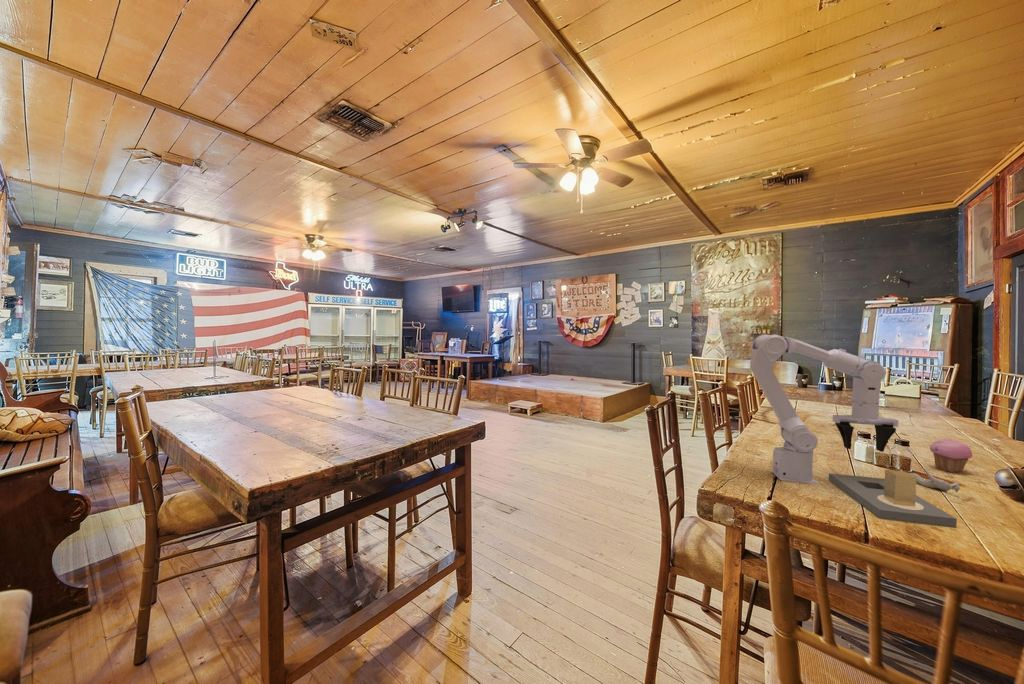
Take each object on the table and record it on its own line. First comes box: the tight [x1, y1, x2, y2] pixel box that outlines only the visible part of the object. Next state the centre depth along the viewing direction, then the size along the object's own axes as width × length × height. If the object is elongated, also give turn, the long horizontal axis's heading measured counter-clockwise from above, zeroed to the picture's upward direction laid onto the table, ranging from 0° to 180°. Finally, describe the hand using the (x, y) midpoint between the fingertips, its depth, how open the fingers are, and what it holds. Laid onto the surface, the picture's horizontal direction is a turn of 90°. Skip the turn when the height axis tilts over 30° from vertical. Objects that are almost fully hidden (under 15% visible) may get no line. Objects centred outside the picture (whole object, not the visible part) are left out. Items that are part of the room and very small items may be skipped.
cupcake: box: [929, 438, 973, 473], centre depth 124 cm, size 9×9×10 cm
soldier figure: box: [899, 467, 961, 493], centre depth 110 cm, size 8×5×12 cm
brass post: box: [884, 469, 917, 506], centre depth 95 cm, size 4×4×7 cm
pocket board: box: [828, 473, 958, 529], centre depth 101 cm, size 14×24×3 cm, turn 163°
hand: (863, 449), depth 111 cm, fingers open, 7 cm apart
